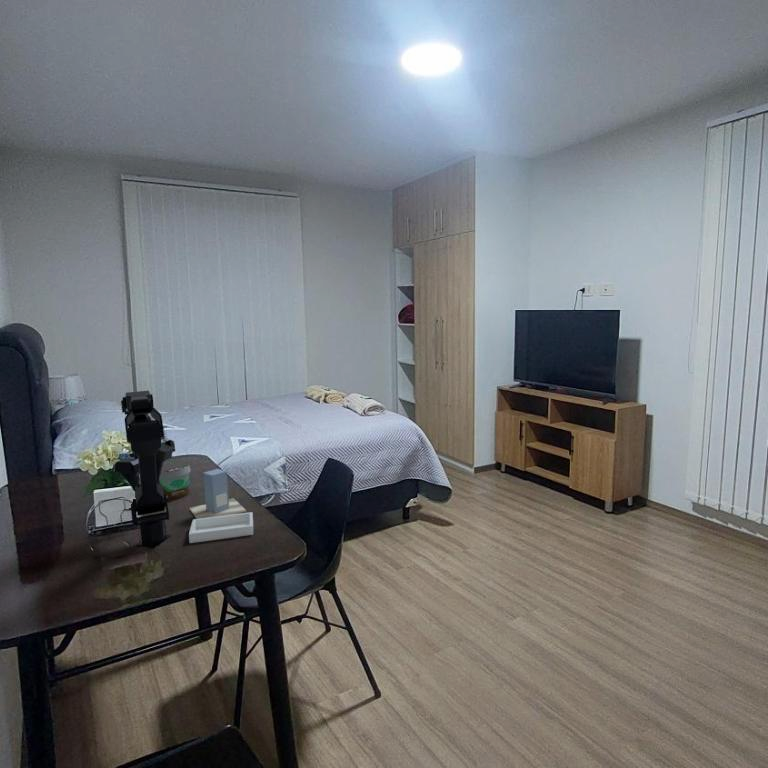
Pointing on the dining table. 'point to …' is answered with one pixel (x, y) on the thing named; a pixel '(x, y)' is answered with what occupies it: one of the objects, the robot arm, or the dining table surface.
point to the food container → (175, 482)
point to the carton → (216, 490)
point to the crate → (221, 527)
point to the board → (203, 513)
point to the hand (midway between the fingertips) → (147, 486)
